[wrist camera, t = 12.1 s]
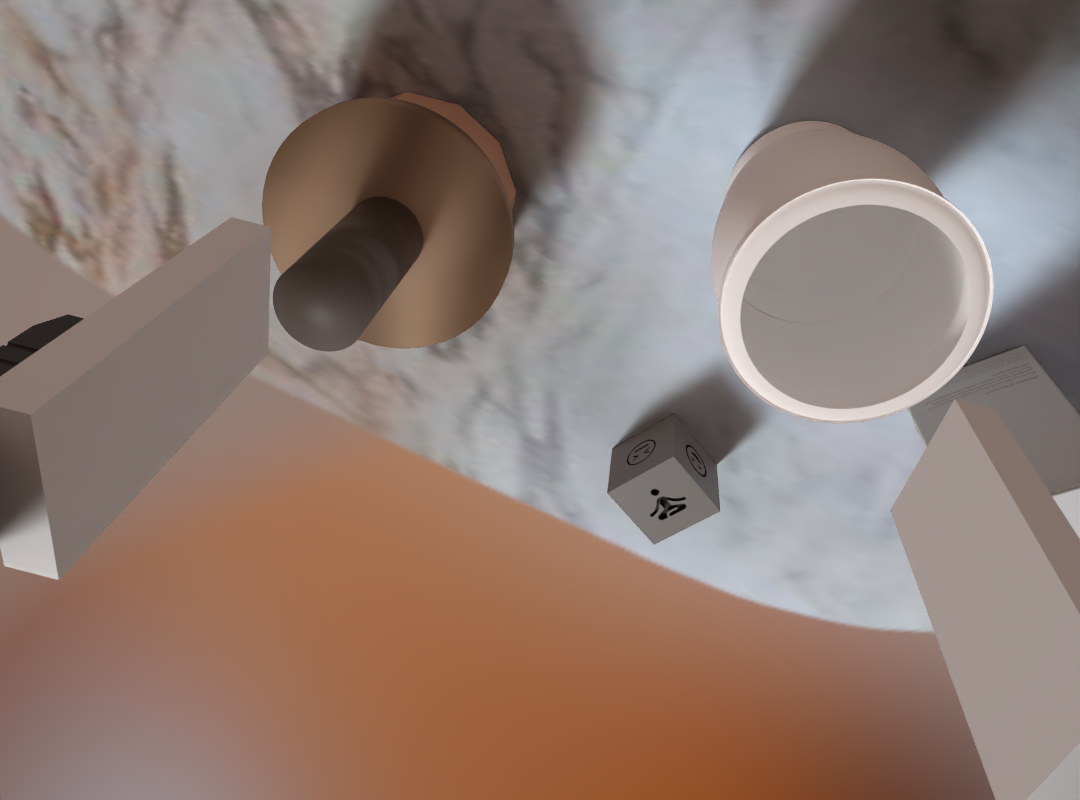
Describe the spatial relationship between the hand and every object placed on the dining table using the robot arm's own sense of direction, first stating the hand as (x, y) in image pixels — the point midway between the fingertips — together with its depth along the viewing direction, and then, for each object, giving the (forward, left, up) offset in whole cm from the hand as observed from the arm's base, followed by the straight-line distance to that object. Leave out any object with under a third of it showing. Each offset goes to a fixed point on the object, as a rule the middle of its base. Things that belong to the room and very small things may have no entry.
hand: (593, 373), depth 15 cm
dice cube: (-8, +23, -32) cm, 40 cm away
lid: (+11, +9, -26) cm, 29 cm away
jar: (-10, +4, -32) cm, 34 cm away
